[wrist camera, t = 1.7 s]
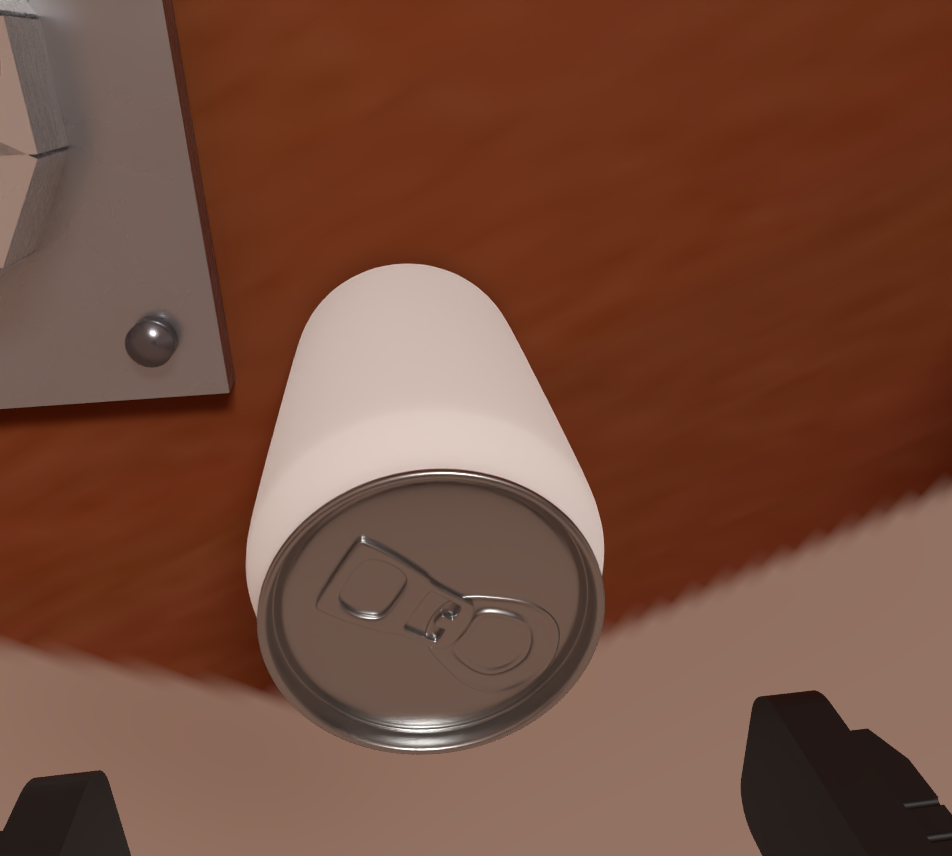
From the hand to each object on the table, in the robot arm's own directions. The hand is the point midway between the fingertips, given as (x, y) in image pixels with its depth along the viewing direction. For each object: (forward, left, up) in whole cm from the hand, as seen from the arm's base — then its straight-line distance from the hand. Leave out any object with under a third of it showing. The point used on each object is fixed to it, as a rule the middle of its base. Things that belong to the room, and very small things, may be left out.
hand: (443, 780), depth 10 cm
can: (0, 0, -15) cm, 15 cm away
